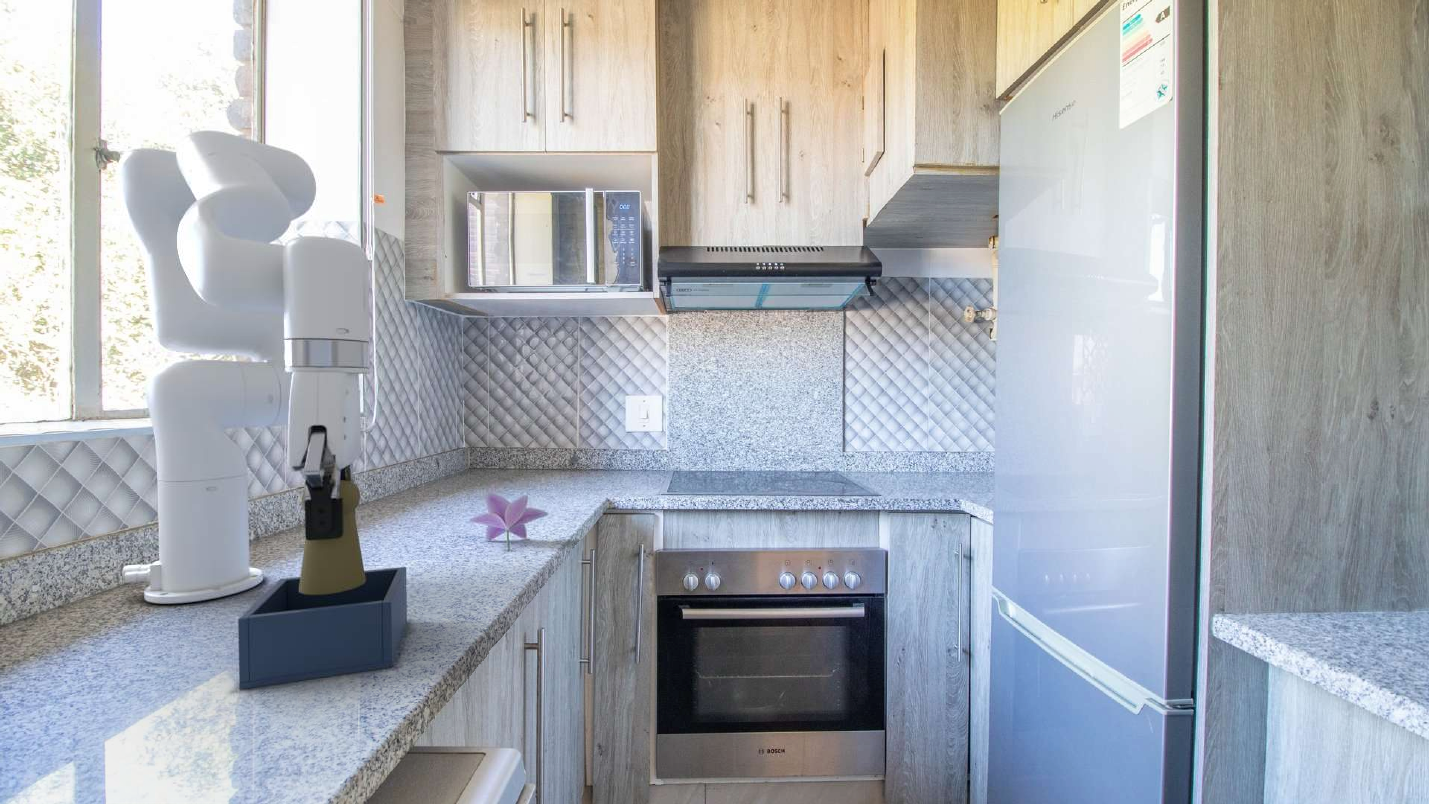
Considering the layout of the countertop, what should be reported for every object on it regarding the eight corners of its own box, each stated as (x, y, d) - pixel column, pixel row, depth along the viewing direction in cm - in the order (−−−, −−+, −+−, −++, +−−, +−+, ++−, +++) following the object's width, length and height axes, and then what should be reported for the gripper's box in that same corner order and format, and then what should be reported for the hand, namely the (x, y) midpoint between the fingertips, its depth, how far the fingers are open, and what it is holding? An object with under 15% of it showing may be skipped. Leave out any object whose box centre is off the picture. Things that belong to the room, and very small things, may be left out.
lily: (557, 547, 110) (550, 497, 113) (526, 536, 99) (519, 481, 103) (497, 565, 111) (492, 515, 115) (459, 557, 100) (455, 502, 104)
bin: (239, 689, 56) (237, 619, 56) (281, 637, 68) (280, 578, 68) (392, 667, 61) (391, 601, 60) (407, 621, 72) (406, 566, 72)
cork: (286, 589, 63) (283, 483, 62) (344, 573, 68) (342, 475, 68) (319, 598, 60) (317, 487, 60) (378, 581, 65) (376, 479, 65)
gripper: (308, 362, 70) (311, 518, 71) (257, 355, 54) (261, 557, 55) (382, 363, 73) (384, 513, 73) (353, 356, 57) (356, 548, 57)
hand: (331, 530), depth 64 cm, fingers closed on cork, 5 cm apart
